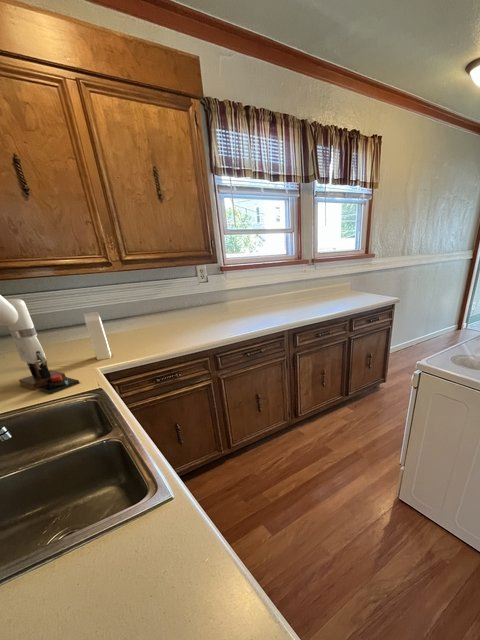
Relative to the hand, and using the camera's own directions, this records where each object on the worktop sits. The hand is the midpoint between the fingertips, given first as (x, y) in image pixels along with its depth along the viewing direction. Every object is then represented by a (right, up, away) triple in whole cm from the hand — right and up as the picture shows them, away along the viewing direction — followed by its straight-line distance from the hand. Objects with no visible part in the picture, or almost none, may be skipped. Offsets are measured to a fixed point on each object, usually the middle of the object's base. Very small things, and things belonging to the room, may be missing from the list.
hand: (41, 376), depth 132 cm
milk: (+8, +11, +29) cm, 32 cm away
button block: (+10, -5, -3) cm, 11 cm away
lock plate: (0, -3, +2) cm, 3 cm away
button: (+9, -2, -4) cm, 11 cm away
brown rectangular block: (0, 0, 0) cm, 0 cm away
